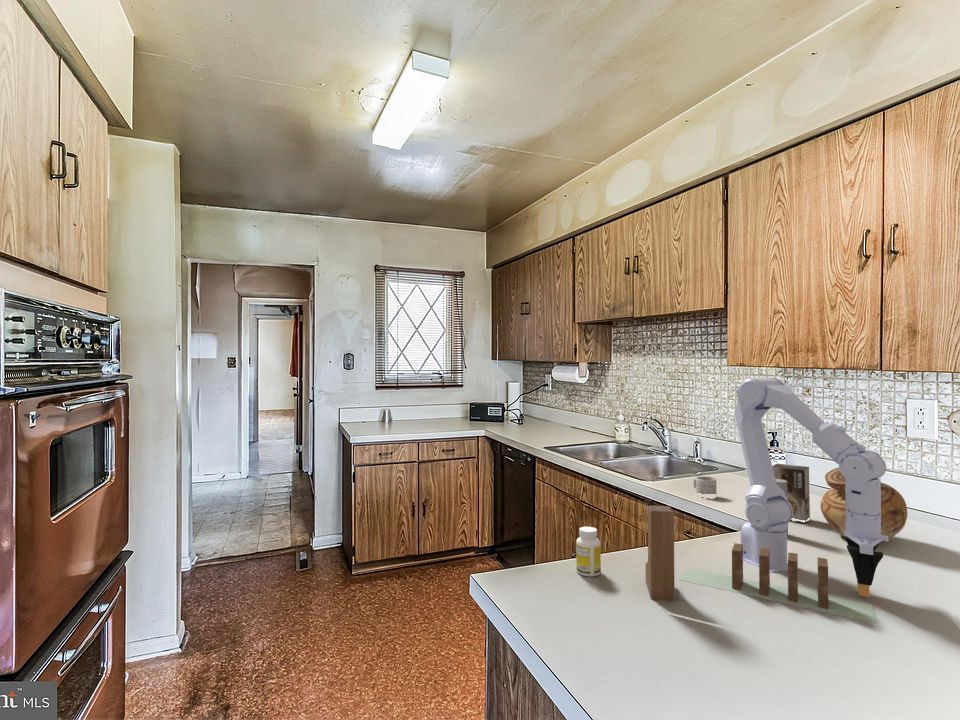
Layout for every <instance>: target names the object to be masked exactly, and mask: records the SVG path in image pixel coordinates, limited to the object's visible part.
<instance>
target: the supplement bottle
mask: <svg viewBox="0 0 960 720" xmlns="http://www.w3.org/2000/svg"><path fill="white" fill-rule="evenodd" d="M578 532H579V533H578V535H579V537H577V539H576V543H575V544H576V547H575V549H576V572H577V573H578V574H579V575H581V576H585V577H596V576H597V577H598V576H599V575H601V572H602V571H601V569H602V568H601V565H602V564H601V563H602V561H601V560H602V559H601V541H600V540H599V538H598V529H597V528H596V527H592V526H581V527H579V529H578Z"/></svg>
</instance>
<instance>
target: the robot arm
mask: <svg viewBox="0 0 960 720" xmlns="http://www.w3.org/2000/svg"><path fill="white" fill-rule="evenodd" d="M735 393H736V398H737V400H736V406H735V410H734V417H735V421H736V422H735V423H736V427H737V431H738V435H739V439H740V440H739V441H740V444H741V445H740V446H741V448H742V453H743V457H744V458H743V459H744V462H745V467H746V470H747V476H748V481H749V483H750V484H749V485H750V487H749V489H748V491H747V493H746V495H745V500H746V501H745V502H746V504H745V510H744V513H745V517H746V519H747V521H746V522H745V523H744V524H743V525H742V527H741V530H740V543H739V544H743V562H746V563H749V564H751V565H754V566H755V567H758V568H759V553H760V549H761V548H767V549H770V573H778V572H784V571H788V536H787V522H788V523H789V522H790V520H791V519H792V517H793V509H792V506H791V504H790V503H789V502H788V500H787V499H786V496H785V492H784V491H783V490H782V489H781V488H780V487H779V486H778V485H777V484H776V480H775V476H774V472H773V467H772V466H773V464H772V460H771V455H770V451H769V447H768V442H767V438H766V433H765V430H764V426H763V421H762V420H763V419H762V418H763V417H764V416H765V415H766V414H767V412H768V411H769V410H770V409H772V408H775V409H778V410H782V411H784V412H785V413H786V414H788V416H790V418H791V417H792V418H793V419H794V420H795V421H796V422H798V423H799V424H800V425H801V426H803V427H804V428H805V429H806V430H807V431H809V432H810V433H811V435H812V442H813V443H814V444H815V445H816V446H817V447H818V448H820V449H821V451H822V452H823V453H825V454H826V455H827V456H828V457H829V458H830V459H832V460H833V461H834V462H835V463H836V464H837V465H838V468H839V470H840V472H841V474H842V475H843V477H844V478H845V480H846V487H845V499H846V509H845V515H846V530H844V534H845V537H844V540H845V542H846V544H847V545H846V549H847V551H848V553H849V555H850V557H851V560H852V565H853V569H854V572H855V577H856V582H857V581H858V583H859V584H864V585H869V587H871V586H872V584H873V582H874V577H875V574H876V569H877V567H878V565H879V563H880V562H881V560H882V559H883V558H884V553H883V552H882V551H878V550H877V551H876V549H877V548H878V546H879V544H880V543H881V542H889V540H890V538H888V536H885V535H881V483H882V481H881V478H882V477H883V476H884V475H885V473H886V471H887V465H886V462H885V460H884V458H882V456H881V455H880V454H879V453H878V452H876V451H873V450H869V449H868V450H867V447H866V446H865V445H864V444H863V443H862V444H860V443H858V441H856V440H855V439H853V438H852V437H851V436H850V435H849V434H848V433H846V432H847V429H846V428H845V427H844V426H842V425H838V424H835V423H826V422H825V421H824V420H823V419H821V417H819V416H818V415H817V414H816V412H814V411H813V409H811V408H810V407H809V406H808V405H807V404H806V403H805V402H804V401H803V400H802V399H800V397H798V396H797V395H796V394H795V393H794V391H793V389H792V387H790V386H789V385H786V384H785V383H784V382H783V381H782V380H780V379H779V378H777V377H768V378H753V377H751V378H746V379H744V380H743V381H742V382H741V383H740V385H739V386H738V387H737V388H736V389H735ZM875 479H876V480H875Z"/></svg>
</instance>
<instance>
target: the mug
mask: <svg viewBox="0 0 960 720" xmlns="http://www.w3.org/2000/svg"><path fill="white" fill-rule="evenodd" d="M692 482H693V483H692V485H693V489H694V488H695V489H696V491H695V493H696V492H697V493H701V494H716V495H717V478H716V477H711V476H703V475H702V476H700V475H699V476H696V477H694V478H693V481H692Z"/></svg>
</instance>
